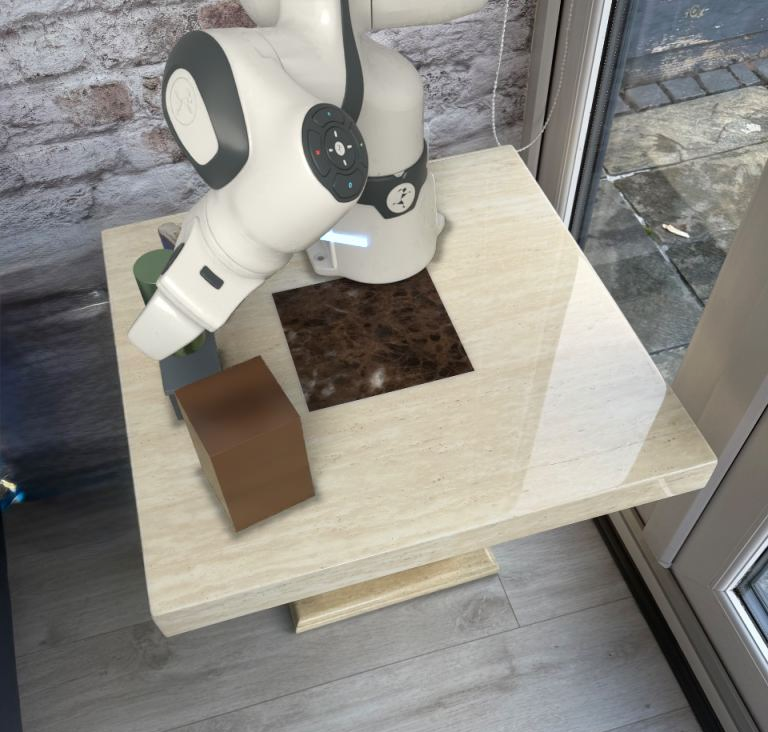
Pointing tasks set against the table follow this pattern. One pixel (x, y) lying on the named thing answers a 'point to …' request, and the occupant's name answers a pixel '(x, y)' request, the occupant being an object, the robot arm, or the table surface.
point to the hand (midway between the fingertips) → (164, 300)
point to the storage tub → (189, 369)
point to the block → (247, 441)
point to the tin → (146, 277)
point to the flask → (169, 235)
